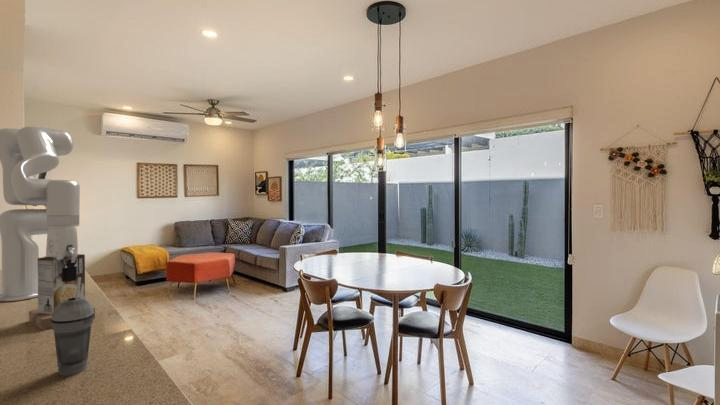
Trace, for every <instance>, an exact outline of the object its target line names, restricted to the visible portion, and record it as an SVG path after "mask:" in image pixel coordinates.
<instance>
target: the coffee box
mask: <svg viewBox="0 0 720 405" xmlns="http://www.w3.org/2000/svg"><path fill="white" fill-rule="evenodd" d="M85 259H86V256H85V254H84V253H83V254H80V253H78V254H77V258H76V260H77V262H76V263H77V267H76V280H75V281H68V282H62V268H64V267H63V263H62V259H60V261H56V259H53V258H50V257H46V256H44V257H39V258H38V297H37V309H38V313H43V314H51V315H52V314H53V312H54V310H55V308H56V307H57V306H58V305H59V304H60V303H61V302H63V301H64V300H67V299H69V298H75V297H76V289H77V282H78V278H79V277H81V282H80V289H79V298H83V299H86V268H85V267H86V260H85ZM66 262H68V261H66Z"/></svg>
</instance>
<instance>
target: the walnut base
mask: <svg viewBox="0 0 720 405" xmlns="http://www.w3.org/2000/svg"><path fill="white" fill-rule="evenodd" d="M93 310H94V313H95V314H94V317H93V319H95V318H96V308H95V307H93ZM51 319H52V315H51V314H43V313H38V308H37V309H34V310H32V309H31V310H29V311H28V322H29V323H31V324H33V325H34V326H36V327H37V328H38V329H40V330H42V331H46V330H50V329H53V328H52V322H51Z"/></svg>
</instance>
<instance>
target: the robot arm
mask: <svg viewBox="0 0 720 405" xmlns="http://www.w3.org/2000/svg"><path fill="white" fill-rule="evenodd" d="M73 149H74V141H73V138H72V136H71V135H70V133H68V132H67V131H65V130H62V129H54V128H49V127H48V128H47V127H41V126H31V125H30V126H25V127H21V128H11V127H9V128H0V164H1V167H2V192H3V193H2V194H3V199H4V201H5V203H6V204H9V205H11V206H12V205H13V206H43V207H44V208H19V209H18V208H16V209H15V208H14V209H8V210H5V211H3V212H2V213H0V240H1V242H0V243H1V293H0V302H16V301H17V302H18V301H22V300H23V301H24V300H28V299H33V298H34V299H35V298H38V258H40V257H39V256H40V255H39V250H40V249H39V246H38V244H37V242H35V241H34V240H33V239H32V238H30V236H36V235H37V236H39V235H40V236H41V235H46V247H45V257H50V258H53V259H56V261H60V259H62V263H63V267H64V268H62V282H68V281H75V280H76V267H77V263H76V262H77V260H76V258H77V254H79V253H78V250H79V249H78V247H79V246H78V241H79V240H78V228H77V227H80V210H81V209H80V204H81V202H80V196H81V195H80V192H81V191H80V190H81V189H80V188H81V187H80V183H79V182H78V181H76V180H72V179H71V180H69V179H68V180H67V179H49V178H36V175H40V174H44V173H47V172H50V171H52V170H54V169H56V168H57V167H58V166H59V164H60V158H59V156H60V157H61V156H62V157H63V156H66V155H69V154H70V153H71V152H72V151H73ZM66 261H68V262H66Z"/></svg>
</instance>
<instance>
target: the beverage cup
mask: <svg viewBox="0 0 720 405" xmlns="http://www.w3.org/2000/svg"><path fill="white" fill-rule="evenodd" d="M80 282H81V277H79V278H78V282H77V289H76V297H75V298H69V299H67V300H64V301H63V302H61V303H60V304H59V305H58V306H57V307H56V308H55V310H54V312H53V314H52V319H51V322H52V328H51V329H52V331H53V333H54V334H53V335H54V345H55V353H56V363H57V368H58V375H59V376H61V377H68V376H73V375H74V376H75V375H76V374H77V375H78V374H80V373H82V372H84V371H85V370H86V369H87V364H88V357H89V350H90V349H89V348H90V339H91V331H92V324H93V322H94V318H93V317H94V314H95V315H96V312H95V313H94V310H93V308H94V306H93V304H92V303H91V302H90V301H88V300H87V299H86V298H85V299H83V298H79V289H80Z"/></svg>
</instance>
